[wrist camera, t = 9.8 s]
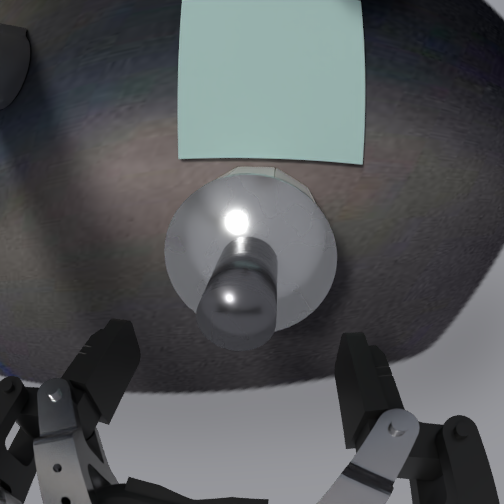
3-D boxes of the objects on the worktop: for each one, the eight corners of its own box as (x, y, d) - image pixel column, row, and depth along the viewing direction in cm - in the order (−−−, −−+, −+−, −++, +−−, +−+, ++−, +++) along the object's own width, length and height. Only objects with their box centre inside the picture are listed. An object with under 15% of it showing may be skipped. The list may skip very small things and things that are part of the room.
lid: (161, 174, 17) (104, 199, 11) (342, 176, 17) (378, 203, 10) (178, 321, 22) (147, 385, 15) (324, 329, 21) (336, 399, 15)
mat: (183, 0, 16) (182, -2, 16) (359, 2, 15) (360, 1, 15) (180, 158, 22) (178, 159, 21) (361, 164, 21) (362, 164, 20)
